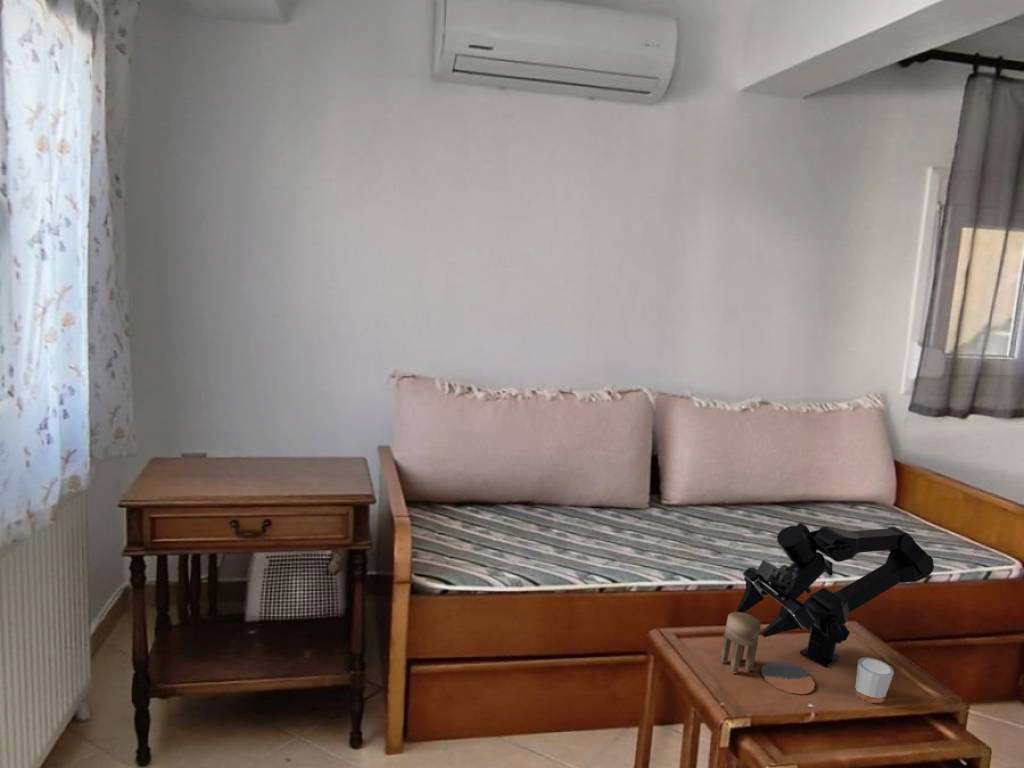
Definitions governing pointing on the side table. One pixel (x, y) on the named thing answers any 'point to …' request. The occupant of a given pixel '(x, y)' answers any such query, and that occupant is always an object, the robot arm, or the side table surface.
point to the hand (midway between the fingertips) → (749, 624)
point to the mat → (783, 671)
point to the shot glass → (873, 677)
